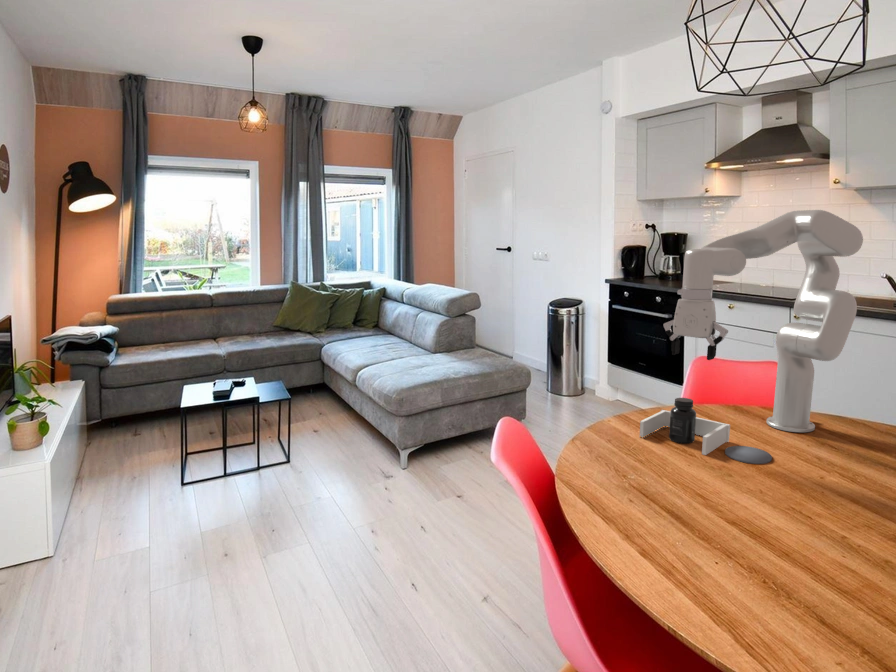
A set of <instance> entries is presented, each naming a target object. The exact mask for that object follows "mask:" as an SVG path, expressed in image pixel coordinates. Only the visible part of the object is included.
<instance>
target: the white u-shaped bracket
mask: <svg viewBox="0 0 896 672" xmlns="http://www.w3.org/2000/svg"><path fill="white" fill-rule="evenodd" d="M670 412H671V410H665V409H660V411H659V412H656V413H655V414H652V415H651V416H648V417H646V418H644V419H641V420H640V422H639V437H640V436H641V437H644V436H646V435H648V434H650V433H652V432H654V431H655V430H657V429H659V428H661V427H663V426H668V427H670ZM730 432H731V424H729V423H724V422H721V421H716V420H710V419H706V418H701V417H697V416H696V426H695V434H696V435H695V436H699V435H700V436H699V437H702V446H701V447H702V448H701V455H703V456H707V455H708V454H710V453H711V452H714V450H715V449H717V448H719V447H720V446H722V445H724V444H725V443H727V442H728V443H729V442H730ZM654 433H655V432H654ZM652 434H653V433H652ZM650 435H651V434H650ZM648 436H649V435H648ZM646 437H647V436H646ZM644 438H645V437H644Z"/></svg>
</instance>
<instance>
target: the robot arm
mask: <svg viewBox="0 0 896 672" xmlns="http://www.w3.org/2000/svg"><path fill="white" fill-rule="evenodd" d="M863 242H864V238H863V233H862V232H861V230H860V229H859V227H857V226H856V225H854V224H852V223H851V222H849V221H847V220H846V219H843V218H841V217H839V216H838V215H836V214H834V213H832V212H829V211H827V210H823V209H809V210H808V209H807V210H793V211H790V212H786V213H784V214H782V215H780V216H778V217H776V218H774V219H771V220H770V221H767V222H765V223H763V224H762V225H759V226H757V227H754V228H751V229H748V230H744V231H742V232H738V233H735V234H731V235H728V236H725V237H722V238H719V239H716V240H714V241H712V242H710V243H708V244H707V245H704V246H702V247H701V248H693V249H692V248H691V249H688V250H686V251H685V253H684V258H683V259H684V260H683V272H682V273H683V275H682V287H681V289H678V290H677V291H676V292H677V295H680V297H681V298H679V299H678V300H677V303H676V307H675V312H674V315H673V316H674V317H673V319H672V320H670V321H667V322H664V323H663V328H664V330H665V334H666V335H667V336H668V337H669V340H670V341H671V346H670V347H671V348H670V350H671V355H673V356H676V355H679V353H680V348H681V347H680V346H681V339H680V338H681V337H687V338H696V339H706V341H707V342H708V344H709V345H707V349H706V350H707V352H706V360H707V361H711V360H714V359H715V358H716V355H717V345H719V344H720V343H721V342H723V340H725V338H726V336H727V335H728V333H729V330H728V329H727V328H725V327H724V326H722V325H720V324H719V323H717V316H716V315H717V313H716V304H715V300H713V291H714V290H713V288H714V277H715V276H721V277H733V276H736V275H739V274H740V273H741V272H742V271H744V270H745V268H746V265H747V260H749V259H750V260H751V259H760V258H765V257H768V256H771V255H773V254H775V253H778V252H779V251H781V250H784V249H785V248H787V247H789V246H791V245H793V244H795V243H796V244H797V247H798V250H799V252H800V253H801V255H802V257H803V259H804V262H805V273H804V276H803V278H802V282H801V284H800V287H799V290H798V292H797V296H796V299H795V301H794V305H793V312H794V314H795V316H797V317H798V318H800V319H802V320H803V319H804V320H807V321H812V322H818V323H821V325H814V324H811V323H810V324H809V323H803V322H789V323H785V324H783V325H782V326H781V327H779V329H777V333H776V335H775V345H776V352H777V369H776V378H775V379H776V380H775V389H774V400H773V410H772V411H773V412H772V416H768V417H767V418H766V424H767V425H768V426H769V427H771V428H774V429H777V430H779V431H780V430H781V431H784V432H792V433H811V432H813V431H815V429H816V425H815V424H814V423H813V422H812V421H810V417H811V408H812V399H813V390H814V381H815V367H814V366H815V365H814V363H813V361H812V360H817V361H821V362H831V361H833V360H835V359H837V358H838V357H839V356H840V354H841V353H842V352H843V349H844V347H845V346H846V343H847V340H848V337H849V334H850V332H851V329H852V326H853V324H854V321H855V319H856V316H857V311H858V305H857V304H858V303H857V301H856V298H855V296H854V295H853V294H851V293H850V292H848V291H845V290H836V288H837V284H838V283H839V278H840V268H839V265H838V263H837V261H836V259H835V257H840V258H841V257H842V258H843V257H850V256H852V255H855V254H856V253H858V252H859V251H860V250H861V248H862V247H863ZM716 331H717V332H719V335H718V336H717V337H716V336H715V335H716Z"/></svg>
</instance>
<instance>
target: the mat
mask: <svg viewBox="0 0 896 672" xmlns="http://www.w3.org/2000/svg"><path fill="white" fill-rule="evenodd" d="M724 454H725V455H726V457H728V458H729V459H731V460H734V461H738V462H740V463H745V464H750V465H751V464H752V465H765V464H768V463H770V462H772V460H773V459H772V458H773V457H772V455H771V453H769V452H768V451H765V450H763V449H761V448H757V447H752V446H746V445H733V446H728V447H726V448H725V449H724Z"/></svg>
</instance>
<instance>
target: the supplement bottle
mask: <svg viewBox="0 0 896 672" xmlns="http://www.w3.org/2000/svg"><path fill="white" fill-rule="evenodd" d="M673 405H674V406H673V407H672V408H671V410H670V411H671V412H670V428H668V429H669V433H668V434H669V435H668V438H669V440H670V441H672V442H673V441H674V443H676V442H677V444H683V445H687V444H689V445H690V444H692V443H694V442H695V439H696V438H695V437H696V435H695V426H696V417H697V412H696V410H695V409H694V408H693V407H694V400H693V399H691V398H688V397H675V398H674V404H673Z"/></svg>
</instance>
